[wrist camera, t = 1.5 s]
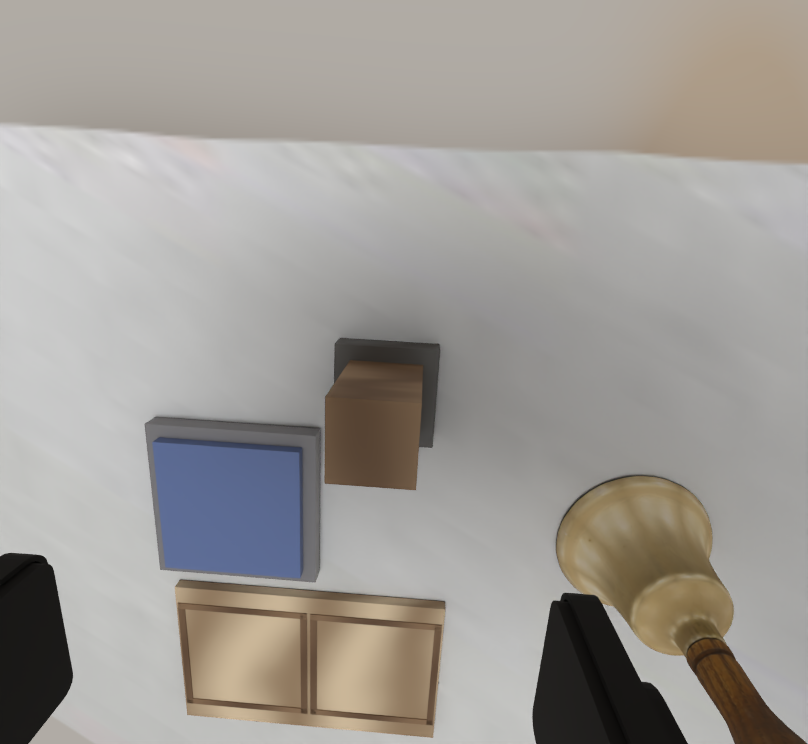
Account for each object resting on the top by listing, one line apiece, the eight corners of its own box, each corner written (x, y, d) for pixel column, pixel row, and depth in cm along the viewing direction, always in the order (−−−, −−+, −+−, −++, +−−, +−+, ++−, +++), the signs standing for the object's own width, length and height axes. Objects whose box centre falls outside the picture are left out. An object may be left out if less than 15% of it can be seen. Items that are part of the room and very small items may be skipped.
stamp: (438, 343, 23) (444, 384, 16) (432, 435, 24) (434, 508, 17) (340, 337, 23) (304, 375, 16) (338, 429, 24) (305, 499, 18)
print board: (444, 601, 27) (445, 610, 26) (432, 728, 30) (432, 738, 29) (180, 579, 27) (174, 587, 27) (192, 705, 30) (186, 715, 29)
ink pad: (320, 428, 24) (312, 440, 23) (319, 570, 27) (312, 589, 25) (155, 416, 25) (137, 428, 23) (170, 557, 27) (154, 576, 25)
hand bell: (695, 606, 26) (1077, 1120, 11) (549, 600, 26) (717, 1088, 11) (722, 476, 24) (1255, 892, 9) (562, 472, 24) (796, 862, 9)
